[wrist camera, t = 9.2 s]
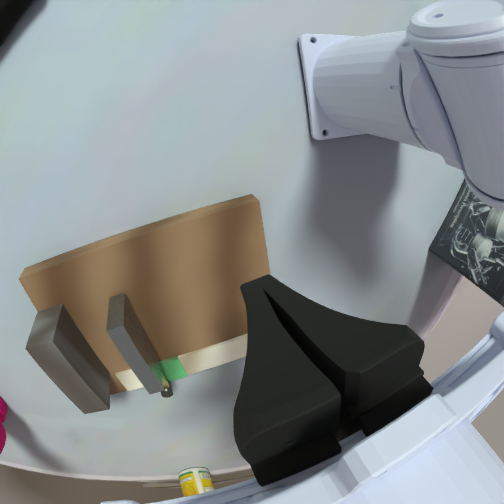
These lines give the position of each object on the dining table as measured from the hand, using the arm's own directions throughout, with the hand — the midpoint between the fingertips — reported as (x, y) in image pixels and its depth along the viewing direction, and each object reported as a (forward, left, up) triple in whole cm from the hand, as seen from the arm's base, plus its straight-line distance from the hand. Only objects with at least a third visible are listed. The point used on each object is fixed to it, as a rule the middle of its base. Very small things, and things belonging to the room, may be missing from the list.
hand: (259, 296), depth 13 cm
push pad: (+8, +8, -8) cm, 13 cm away
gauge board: (+6, +6, -9) cm, 13 cm away
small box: (-30, +7, -10) cm, 32 cm away
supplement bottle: (+15, +42, -10) cm, 46 cm away
